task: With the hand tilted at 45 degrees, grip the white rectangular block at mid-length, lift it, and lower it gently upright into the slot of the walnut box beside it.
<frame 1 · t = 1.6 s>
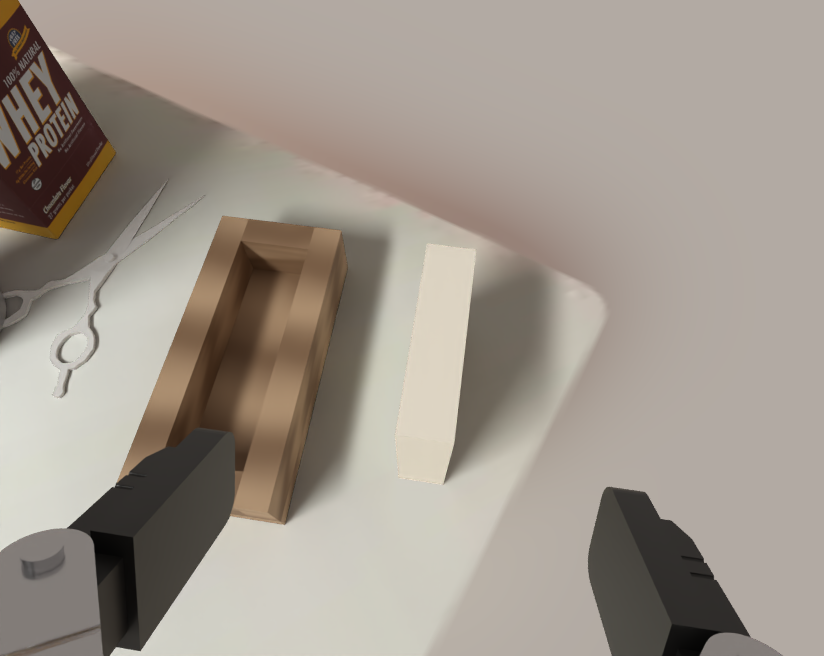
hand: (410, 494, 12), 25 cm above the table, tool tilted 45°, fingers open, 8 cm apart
walnut box: (259, 372, 39), on the table
white rectangular block: (432, 397, 39), on the table
supplement box: (14, 180, 48), on the table
scissors: (109, 271, 44), on the table
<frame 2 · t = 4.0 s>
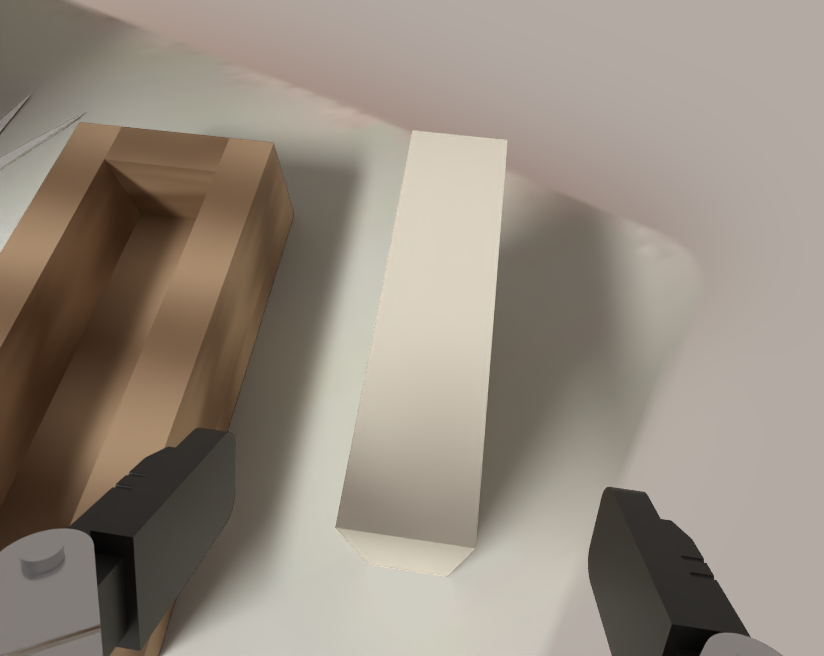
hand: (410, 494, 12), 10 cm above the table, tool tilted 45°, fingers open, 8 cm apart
walnut box: (139, 379, 24), on the table
white rectangular block: (427, 418, 23), on the table
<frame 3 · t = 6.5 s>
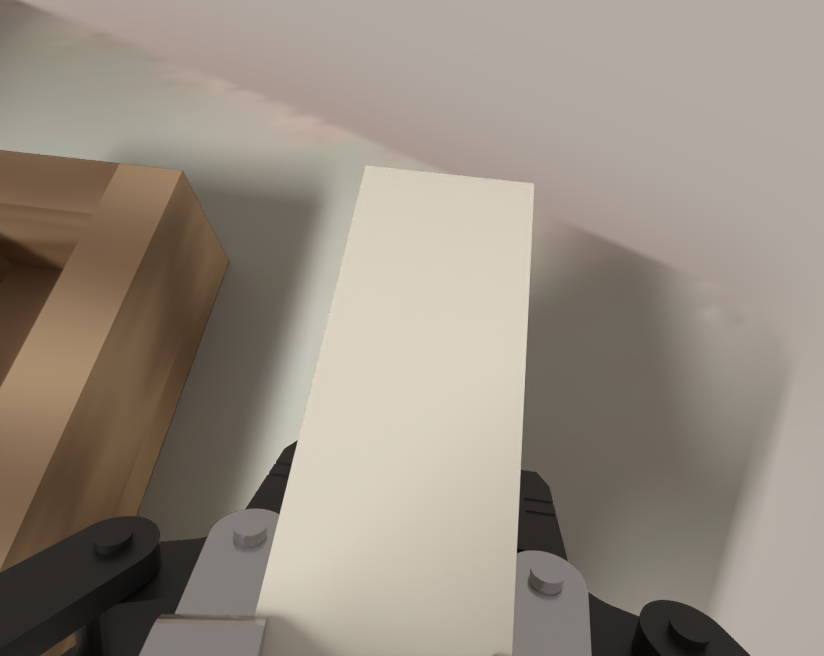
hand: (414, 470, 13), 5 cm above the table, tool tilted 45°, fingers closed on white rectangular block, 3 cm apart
white rectangular block: (404, 577, 16), on the table, touching gripper
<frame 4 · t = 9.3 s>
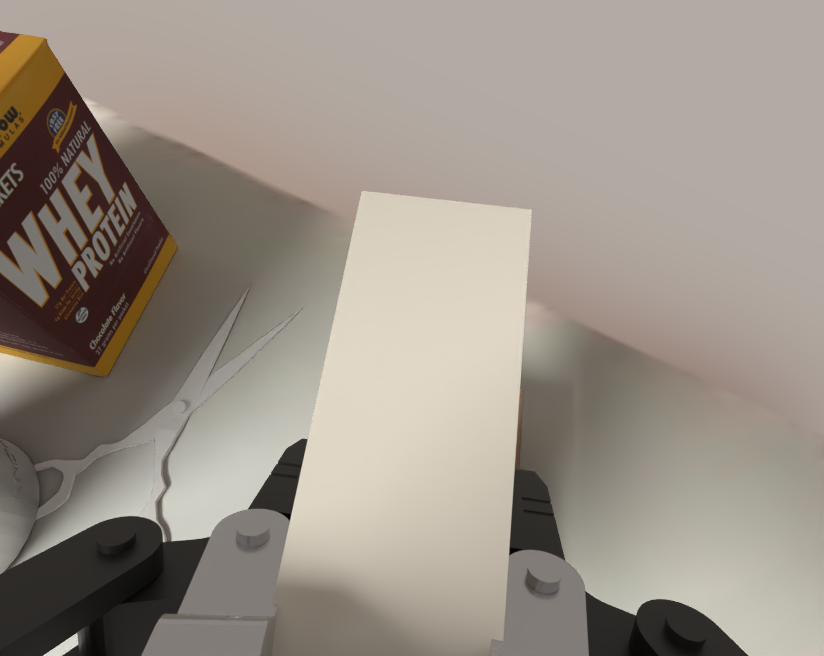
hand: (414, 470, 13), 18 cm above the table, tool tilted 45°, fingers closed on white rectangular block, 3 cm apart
walnut box: (406, 596, 27), on the table
white rectangular block: (406, 563, 16), point 13 cm above the table, tilted 5°, touching gripper
supplement box: (46, 287, 36), on the table
scissors: (179, 424, 32), on the table
when the fingers open (7 cm above the table, at t = 12.2 s): white rectangular block drops 1 cm, resting on walnut box.
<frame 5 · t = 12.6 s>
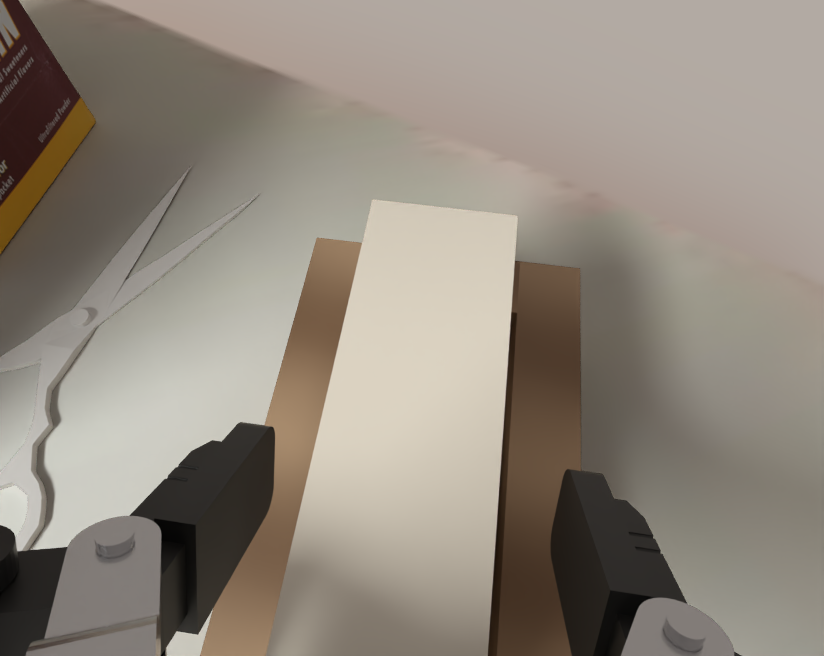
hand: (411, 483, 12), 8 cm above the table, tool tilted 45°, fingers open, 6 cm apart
walnut box: (404, 581, 18), on the table
white rectangular block: (406, 563, 17), point 1 cm above the table, touching walnut box
scissors: (82, 343, 23), on the table
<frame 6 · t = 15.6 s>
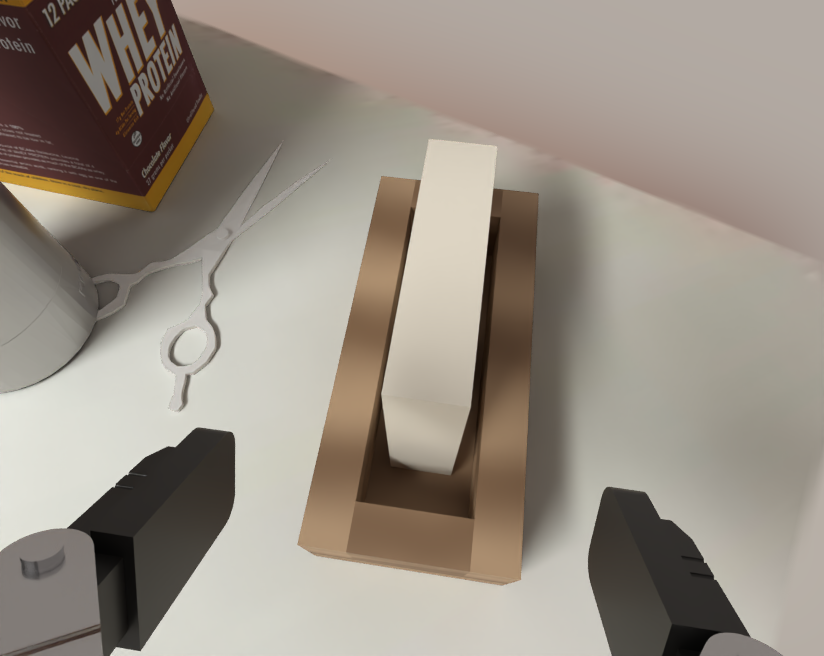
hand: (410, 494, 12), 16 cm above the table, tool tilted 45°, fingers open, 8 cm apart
walnut box: (434, 378, 30), on the table
white rectangular block: (436, 361, 30), point 1 cm above the table, touching walnut box
supplement box: (93, 142, 39), on the table
scissors: (222, 251, 35), on the table
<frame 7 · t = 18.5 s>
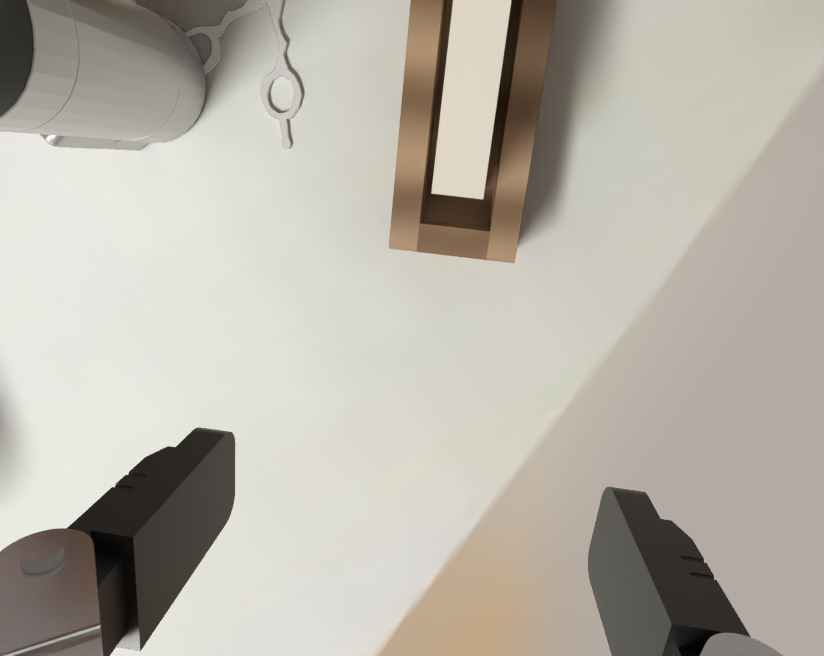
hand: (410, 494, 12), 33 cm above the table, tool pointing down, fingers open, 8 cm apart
walnut box: (469, 111, 40), on the table
white rectangular block: (470, 103, 39), point 1 cm above the table, touching walnut box
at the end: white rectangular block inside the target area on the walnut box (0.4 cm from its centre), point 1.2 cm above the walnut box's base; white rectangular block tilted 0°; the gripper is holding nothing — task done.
